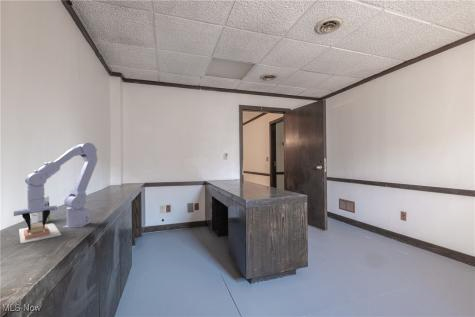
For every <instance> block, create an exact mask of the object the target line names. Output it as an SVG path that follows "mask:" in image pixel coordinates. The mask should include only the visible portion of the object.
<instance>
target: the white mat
mask: <svg viewBox="0 0 475 317" xmlns="http://www.w3.org/2000/svg"><path fill="white" fill-rule="evenodd" d="M45 226H47V227H48V229H49V231H50V235H45V236H40V237H35V238H31V239H26V240H25V236H24V230H26V229H28V227H23V228H19V229H18V232H19V240H20V245H24V244H27V243H32V242H37V241H41V240H47V239H50V238H55V237H60V236H62V233H61V232H60V230H59V229H58V228H57V227H56V224H54V223H53V222H51V223H45ZM43 232H45V230H43ZM40 233H41V232H40ZM35 234H36V233H35ZM28 235H31V232H30V233H28Z"/></svg>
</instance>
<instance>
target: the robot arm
mask: <svg viewBox="0 0 475 317" xmlns="http://www.w3.org/2000/svg"><path fill="white" fill-rule="evenodd" d="M97 151H98V148H97V147H96V146H95V145H94V143H92V142H84V143H77V144H76V145H74V146H72V147H70V149H68V150H67V151H65V153H63V154H62V155H61V156H60V157H58V158H57V159H56V160H54V161H50V160H49V161H48V162H44V163H43V165H42V166H41V167H40V168H39V169H35V170H33V172H34V173H33V172H32V173H30V174H28V175H27V176H26V178H25V179H24V181H25V184H26V185H27V190H26V191H27V192H26V193H27V208H24V209H19V210H14V211H13V217H17V216H21V217H22V218H23V220H24V221H25V222H26V223H25V224H27V228H28V229H29V230H31V225H30V224H31V213H38V212H42V224H43V227H45V224H47V222H46V220H47V218H48V216H49V214H51V211H57V210H58V206H57V205H49V206H47V207H45V198H44V196H45V184H46V183H47V180H48V179H49V178H51V177H52V176H53V175H55V174H56V173H58V172H59V171H60V170H61V166H62V165H64V164H66V163H67V162H68V161H70V160H71V159H72V158H74V157H77V156H80V157H82V160H83V161H84V164H83V166H82V168H81V170H80V173H79V175H78V178H77V179H76V180H77V181H76V183H75V186H74V187H73V189H72V190H71V191H70V192H69V194H68V196H66V197H65V198H64V205H65V206H66V225H63V226H62V229H64V228H78V227H79V228H81V227H84V226H86V225H88V224H91V220H90V219H91V215H90V214H91V213H90V209H89V208H88V207H84V206H86V203H87V202H86V200H87V199H86V198H87V193H86V190H87V188H88V186H89V183H90V181H91V178H92V176H93V173H94V170H95V168H96V166H97V163H98V155H97ZM41 210H42V211H41ZM35 211H36V212H35Z"/></svg>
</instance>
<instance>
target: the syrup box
mask: <svg viewBox="0 0 475 317" xmlns="http://www.w3.org/2000/svg"><path fill="white" fill-rule="evenodd" d="M44 198H45V207H47V206H50V196H49V195H44ZM41 211H42V210H41ZM35 212H36V211H35ZM50 214H51V213H50ZM50 214H49V216H48V218H47V220H46V223H47V222H51V220H50V218H51V216H50ZM38 222H42V212H38V213H31V214H30V224H32V223H38Z"/></svg>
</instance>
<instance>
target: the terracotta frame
mask: <svg viewBox="0 0 475 317" xmlns="http://www.w3.org/2000/svg"><path fill="white" fill-rule="evenodd" d="M43 230H45V232H41V233H36V234H31V235H28V233H30V230H29V229H26V230H24V236H25V240H26V239H31V238H35V237H40V236H45V235H50V231H49V229H48V227H47V226H45V227H43Z"/></svg>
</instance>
